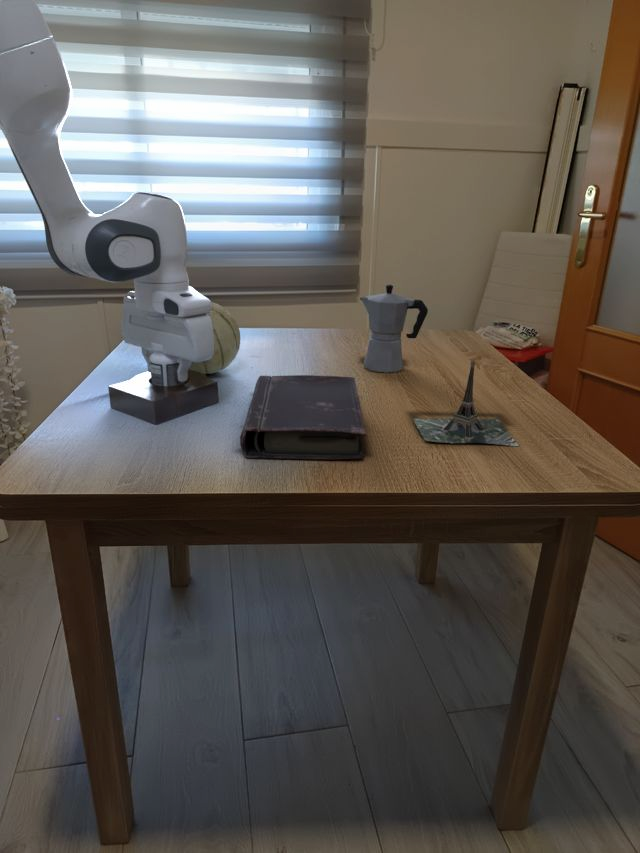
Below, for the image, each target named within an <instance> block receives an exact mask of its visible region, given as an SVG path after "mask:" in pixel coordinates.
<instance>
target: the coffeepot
mask: <svg viewBox="0 0 640 853" xmlns="http://www.w3.org/2000/svg"><path fill="white" fill-rule="evenodd" d="M393 290H394V285H393V284H386V285H385V292H386V293H380V294H372V295H366V296H365V295H364V296H360V297H359V300H360V301H361V302H362V303H363V306H364V307H365V310H366V312H367V314H368V326H369V330H370V331H369V332H370V333H369V339H368V344H367V348H366V353H365V358H364V361H363V368H364V369H366V370H368V371H370V372H374V373H379V372H384V373H383V374H393V373H392V372H395V373H398V372H397V371H399V372H401V371H403V370H404V367H403V366H404V364H403V349H402V332H403V331H404V326H405V322H406V318H407V314H408V310H414V309H418V311H419V312H418V314H417V317H416V321H415V323H414V325H413V328H412V332H411V333H406V336H405V337H406V338H407V339H416V338H418V335H419V332H420V330H421V328H422V326H423V324H424V321H425V319H426V317H427V315H428V313H429V310H428V307H427V305H426V304H425V303H424V301H423V300H421V299H416V298H415V299H413V298H407V297H404V296H401V295H397V294H395V293H393ZM400 370H401V371H400ZM389 372H390V373H389Z"/></svg>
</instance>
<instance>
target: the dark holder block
mask: <svg viewBox="0 0 640 853" xmlns="http://www.w3.org/2000/svg"><path fill="white" fill-rule="evenodd" d="M187 372H188V379H187V381H185V383H184V384H181V385H176V386H157V385H153V384H152V382H151V373H150V372H148V371H145V372H141V373H139V374H136V375H134V376H133V377H132V378H130V379H129V380H125V381H121V382H117V383H114V384H110V385H108V387H107V389H108V398H109V405H110V408H111V409H112V410H115V411H119V412H121V413H123V414H126V415H128V416H132V417H134V418H136V419H139V420H142V421H144V422H147V423H150V424H152V425H156V426H158V425H160V424H162V423H165V422H168V421H171V420H174V419H176V418H180V417H181V416H185V415H188V414H190V413H194V412H196V411H199V410H201V409H205V408H207V407H210V406H213V405H215V404H218V403H219V382H218V381H217V380H214V379H211V378H208V376H207V374H202V373H200V372H197V371H193V370H188V371H187Z"/></svg>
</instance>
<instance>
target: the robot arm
mask: <svg viewBox="0 0 640 853" xmlns="http://www.w3.org/2000/svg"><path fill="white" fill-rule="evenodd" d="M73 96H74V94H73V88H72V84H71V80H70V77H69V74H68V70H67V67H66V64H65V61H64V59H63V57H62V54H61V52H60V49H59V47H58V45H57V42H56V41H55V39H54V38H53V34H52V32H51V29H50V28H49V25H48V23H47V21H46V19H45V17H44V15H43V14H42V11H41V9H40V7H39V6H38V4H37V2H36V0H0V129H1V132H2V133H3V135H4V137H5V139H6V141H7V143H8V146H9V148H10V150H11V153H12V155H13V157H14V159H15V161H16V163H17V166H18V168H19V170H20V172H21V174H22V177H23V179H24V180H25V182H26V185H27V187H28V189H29V191H30V194H31V195H32V198H33V200H34V201H35V203H36V206H37V208H38V210H39V212H40V214H41V218H42V220H43V225H44V233H45V242H46V248H47V251H48V253H49V256H50V257H51V259H52V261H53V262H54V263H55V265H56V266H57V267H58V268H59V269H60V270H62V271H63V272H65V273H67V274H69V275H71V276H75V277H81V278H91V279H94V280H98V281H103V282H108V283H122V282H123V283H124V282H126V281H131V280H133V288H134V289H133V290H134V291H133V290H132V291H131V290H129V291H128V292H127V293H126V294H125V295H124V297H123V305H122V307H121V314H120V329H121V331H120V332H121V337H122V339H123V341H124V343H125V344H128V345H131V346H135V347H139V348H141V355H142V356H143V358H144V360H145V362H146V364H147V365H146V366H147V372H150V373H151V369H150V356H151V355H152V354H153V353H154V352H153V350H152V348H151V342H153V343H156V344H160V345H162V346H163V353H164V354H167V355H171V356H174V357H177V363H180V364H179V367H178V370H176V371H174V376H175V377H174V379H175V380H176V381H179V382H184V381H187V379H188V372H187V371H188V369H189V367H190V365H191V363H192V362H202V361H206V360H209V359H210V358H211V357H212V355H213V353H214V333H213V324H212V320H211V318H210V317H209V315H208V314H206V313H209V312H211V310H212V303H211V302H212V301H211V300H210V299H209V298H208V297H206V296H204V295H203V294H202V293H200V292H198V290H196V289H195V288H194V287H192V286H190V278H189V274H188V271H187V265H186V264H187V263H186V262H187V258H188V239H187V228H186V220H185V216H184V212H183V208H182V206H181V204H180V203H179V202H178V201H177V200H176V199H174V198H172V197H170V196H167V195H163V194H159V193H153V192H147V191H136V192H133V193H132V194H131V195H130V197H129V198H128V199H127V200H125V201H124V202H123V203H121V204H119V205H118V206H115V207H114V208H112V209H110V210H108V211H106V212H103V213H102V214H95V213H93V211H91V210H90V209H89V208H88V207H87V206H86V205H85V204H84V202H83V201H82V198H81V196H80V194H79V192H78V190H77V187H76V185H75V183H74V180H73V178H72V176H71V173H70V171H69V169H68V166H67V163H66V161H65V159H64V157H63V152H62V150H61V144H60V143H61V141H60V139H61V138H60V137H61V131H62V128H63V125H64V123H65V121H66V119H67V117H68V115H69V113H70V110H71V107H72V103H73V98H74V97H73Z"/></svg>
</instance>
